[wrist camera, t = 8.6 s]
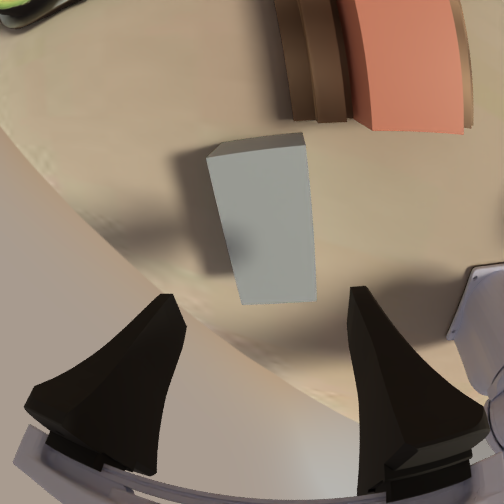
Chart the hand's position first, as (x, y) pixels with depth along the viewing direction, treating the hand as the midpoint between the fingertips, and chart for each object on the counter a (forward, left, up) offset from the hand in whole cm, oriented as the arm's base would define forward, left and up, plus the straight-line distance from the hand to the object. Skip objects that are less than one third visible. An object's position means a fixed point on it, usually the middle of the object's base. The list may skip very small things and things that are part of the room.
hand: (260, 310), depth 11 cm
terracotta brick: (+11, -8, -8) cm, 16 cm away
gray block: (0, 0, -10) cm, 10 cm away
